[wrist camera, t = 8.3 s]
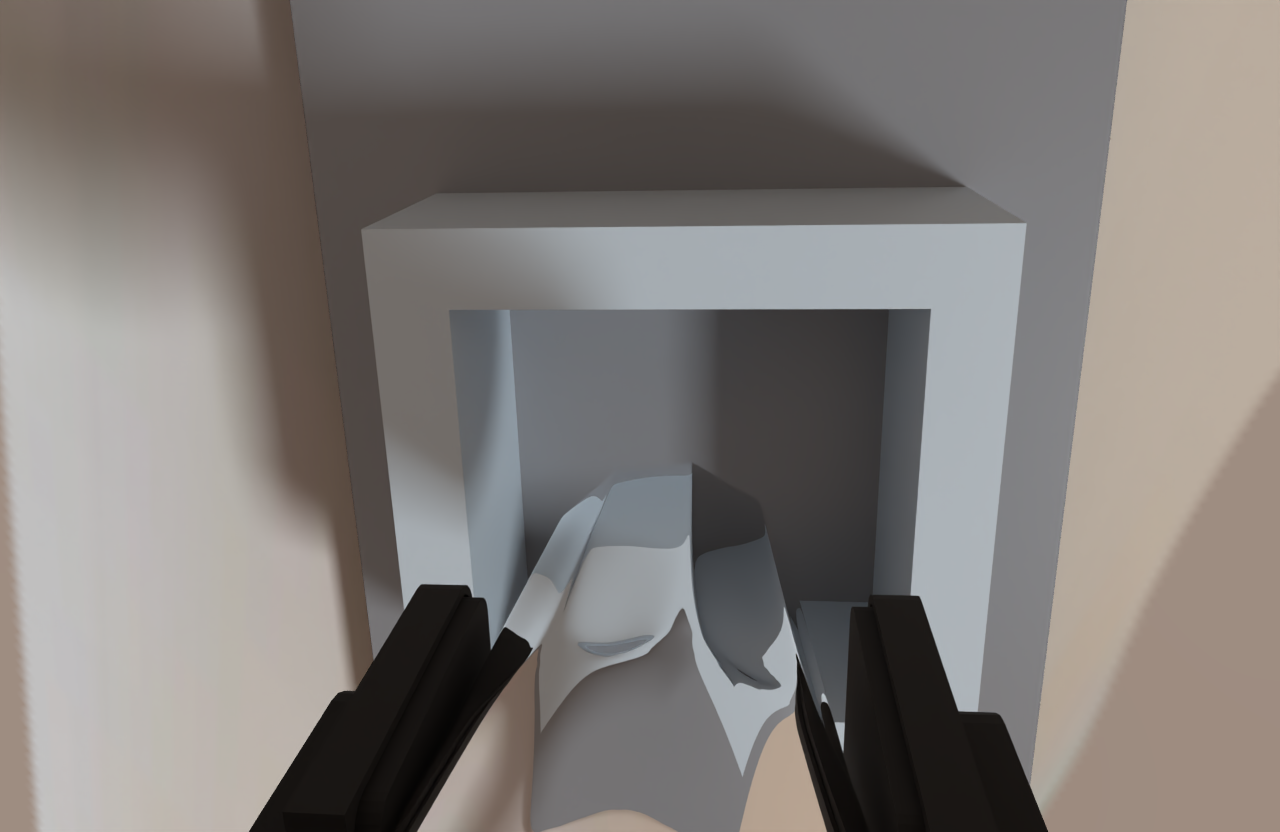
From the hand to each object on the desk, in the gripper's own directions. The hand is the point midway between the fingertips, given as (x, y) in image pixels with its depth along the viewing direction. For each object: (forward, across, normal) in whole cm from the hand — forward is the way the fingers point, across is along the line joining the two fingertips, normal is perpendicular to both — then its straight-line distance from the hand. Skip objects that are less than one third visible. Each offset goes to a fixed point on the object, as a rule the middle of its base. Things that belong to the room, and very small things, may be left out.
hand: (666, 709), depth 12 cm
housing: (+10, 0, 0) cm, 10 cm away
